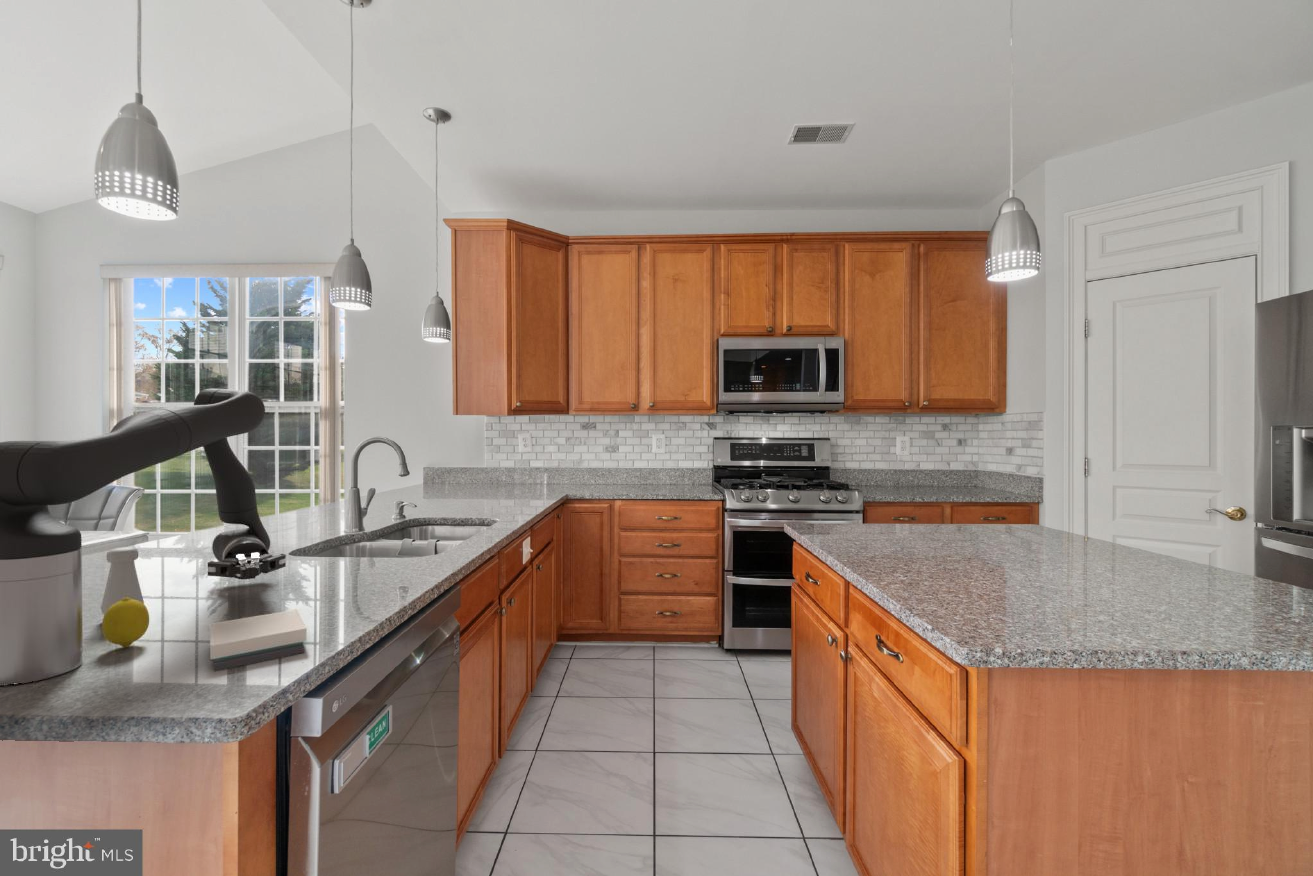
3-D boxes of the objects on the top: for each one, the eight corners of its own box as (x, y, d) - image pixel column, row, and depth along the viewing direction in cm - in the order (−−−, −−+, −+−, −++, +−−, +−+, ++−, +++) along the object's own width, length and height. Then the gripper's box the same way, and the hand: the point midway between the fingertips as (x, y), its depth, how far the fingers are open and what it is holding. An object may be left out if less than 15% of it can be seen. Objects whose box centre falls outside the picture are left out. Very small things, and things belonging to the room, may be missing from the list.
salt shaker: (135, 621, 103) (134, 550, 103) (94, 625, 101) (93, 552, 100) (149, 612, 108) (149, 544, 108) (111, 615, 106) (110, 546, 106)
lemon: (120, 655, 87) (120, 603, 87) (92, 652, 89) (92, 601, 88) (158, 642, 93) (158, 593, 93) (131, 639, 94) (131, 591, 94)
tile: (209, 639, 92) (210, 663, 82) (209, 623, 92) (210, 645, 82) (297, 623, 99) (306, 643, 90) (297, 609, 99) (306, 628, 90)
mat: (214, 671, 82) (214, 664, 82) (214, 648, 91) (214, 641, 91) (303, 652, 89) (303, 646, 89) (295, 632, 97) (295, 627, 97)
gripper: (204, 542, 112) (204, 557, 99) (283, 535, 121) (293, 548, 107) (204, 580, 113) (204, 600, 99) (283, 570, 121) (293, 587, 107)
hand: (250, 573), depth 103 cm, fingers closed
